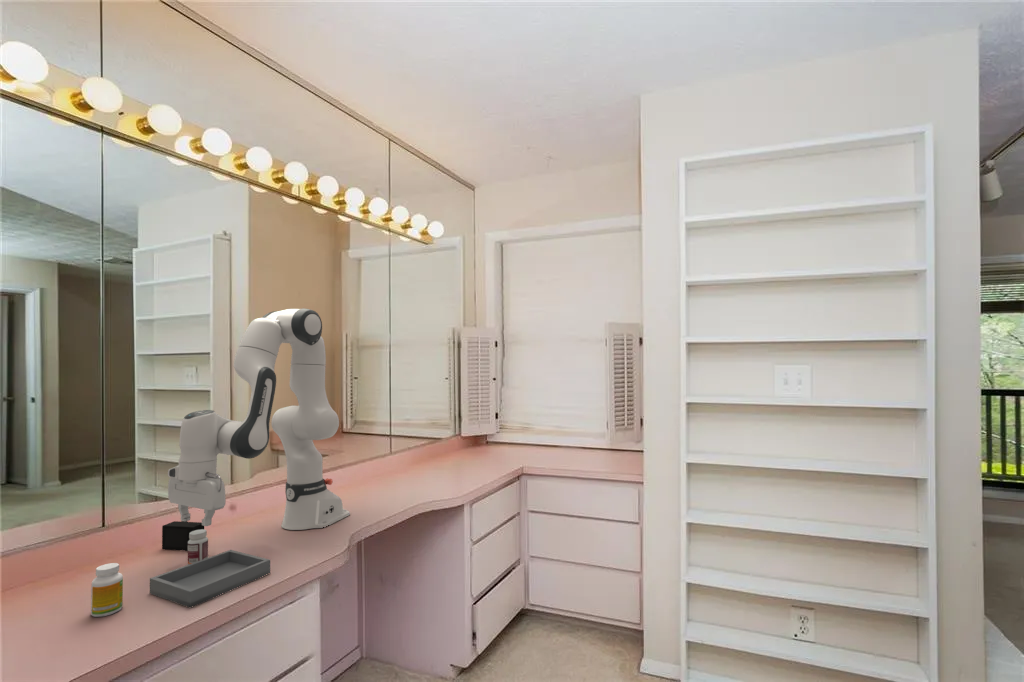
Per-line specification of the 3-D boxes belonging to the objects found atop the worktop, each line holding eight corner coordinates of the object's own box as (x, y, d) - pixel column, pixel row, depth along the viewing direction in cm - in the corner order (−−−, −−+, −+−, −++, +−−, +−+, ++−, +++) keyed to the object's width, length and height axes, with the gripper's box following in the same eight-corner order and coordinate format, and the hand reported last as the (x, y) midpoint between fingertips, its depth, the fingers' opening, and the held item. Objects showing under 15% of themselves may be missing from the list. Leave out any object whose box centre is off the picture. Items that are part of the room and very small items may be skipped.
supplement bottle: (125, 610, 111) (125, 565, 112) (93, 620, 107) (94, 573, 108) (119, 603, 115) (120, 559, 115) (88, 612, 111) (89, 566, 111)
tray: (230, 562, 137) (230, 549, 137) (270, 573, 130) (270, 559, 130) (149, 593, 120) (149, 578, 120) (190, 607, 112) (190, 591, 112)
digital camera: (207, 544, 152) (208, 520, 152) (193, 551, 146) (193, 526, 147) (177, 543, 153) (177, 519, 154) (161, 549, 148) (162, 525, 148)
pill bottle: (204, 558, 141) (204, 527, 141) (210, 562, 138) (211, 531, 138) (184, 563, 137) (184, 532, 137) (191, 568, 134) (191, 535, 134)
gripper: (233, 472, 136) (231, 525, 135) (187, 466, 146) (185, 515, 145) (209, 476, 130) (207, 531, 130) (164, 469, 140) (162, 521, 139)
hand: (195, 523), depth 137 cm, fingers open, 8 cm apart
